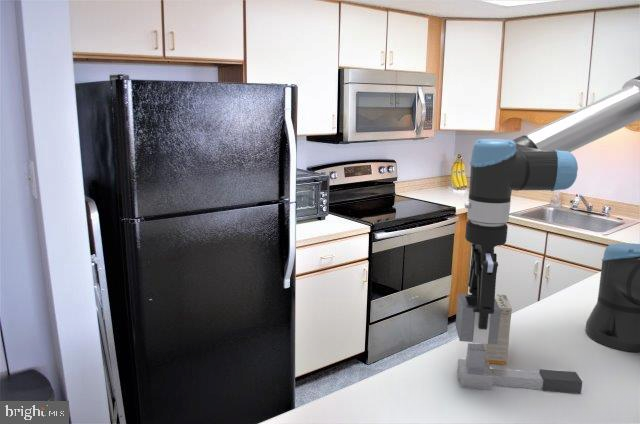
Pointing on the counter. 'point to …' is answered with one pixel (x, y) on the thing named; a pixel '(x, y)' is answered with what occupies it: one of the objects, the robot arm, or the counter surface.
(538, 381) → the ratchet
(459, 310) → the hollow square tube
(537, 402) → the counter surface
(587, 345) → the counter surface
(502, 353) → the supplement box
